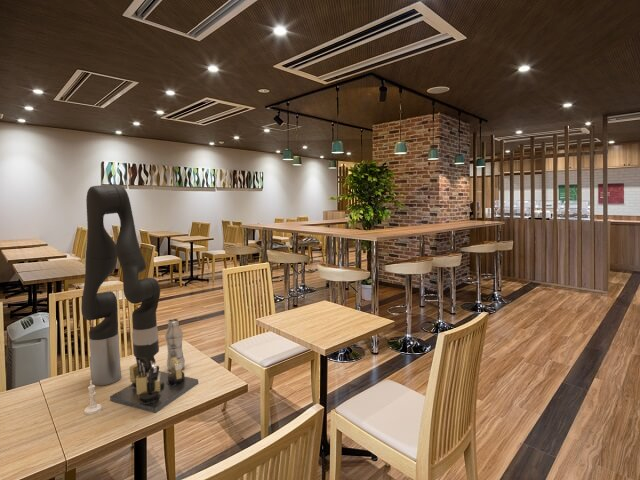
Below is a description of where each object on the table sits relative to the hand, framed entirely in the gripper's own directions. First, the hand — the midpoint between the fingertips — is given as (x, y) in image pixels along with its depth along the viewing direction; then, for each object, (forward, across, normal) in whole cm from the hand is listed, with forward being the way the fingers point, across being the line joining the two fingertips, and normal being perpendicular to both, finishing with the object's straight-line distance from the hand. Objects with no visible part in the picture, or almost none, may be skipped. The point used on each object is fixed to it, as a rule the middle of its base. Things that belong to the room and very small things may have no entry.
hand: (148, 389), depth 122 cm
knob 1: (+3, -12, +2) cm, 12 cm away
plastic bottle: (+5, -17, +17) cm, 25 cm away
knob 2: (+3, 0, 0) cm, 3 cm away
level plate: (+5, -6, +4) cm, 8 cm away
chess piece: (+5, -9, -14) cm, 17 cm away
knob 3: (+3, -4, +11) cm, 13 cm away
